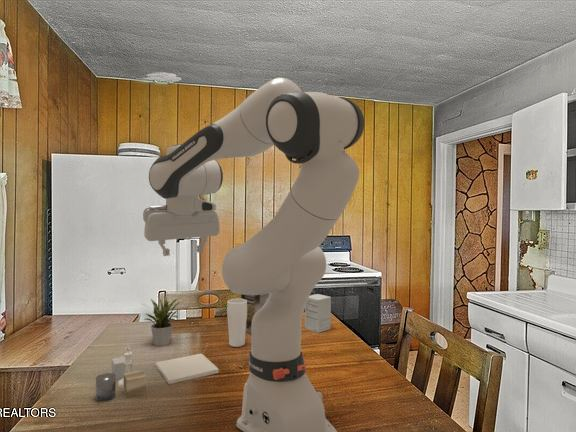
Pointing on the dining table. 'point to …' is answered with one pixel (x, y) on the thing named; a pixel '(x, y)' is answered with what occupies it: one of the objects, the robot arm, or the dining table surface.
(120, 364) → the grey block
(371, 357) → the dining table surface
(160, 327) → the house plant
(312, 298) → the supplement box
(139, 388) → the birch block
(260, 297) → the coffee box
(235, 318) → the drinking glass
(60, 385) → the dining table surface
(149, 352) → the dining table surface
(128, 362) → the chess piece
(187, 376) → the ceramic tile
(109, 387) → the metal tin
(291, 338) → the robot arm
